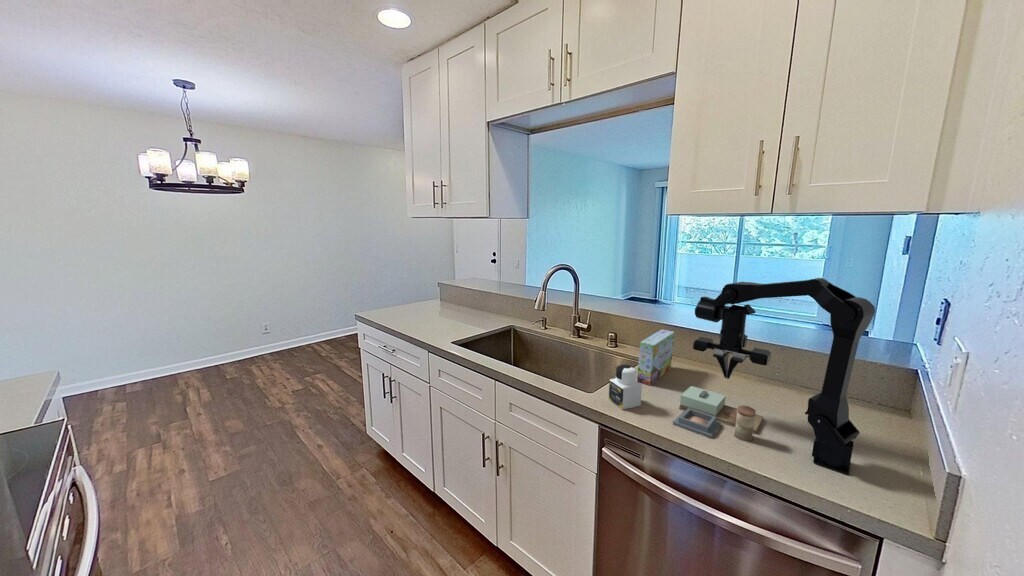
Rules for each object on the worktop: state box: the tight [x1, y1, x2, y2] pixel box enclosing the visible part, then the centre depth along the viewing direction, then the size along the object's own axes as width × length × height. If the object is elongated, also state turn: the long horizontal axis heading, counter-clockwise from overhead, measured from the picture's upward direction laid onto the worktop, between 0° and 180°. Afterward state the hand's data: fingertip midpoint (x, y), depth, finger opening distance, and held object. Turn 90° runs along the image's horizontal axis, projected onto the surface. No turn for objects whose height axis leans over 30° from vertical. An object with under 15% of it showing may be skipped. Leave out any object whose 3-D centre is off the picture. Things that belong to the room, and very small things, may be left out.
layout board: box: [679, 404, 764, 435], centre depth 112 cm, size 20×10×1 cm, turn 47°
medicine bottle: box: [608, 364, 643, 411], centre depth 118 cm, size 7×7×12 cm
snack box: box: [636, 329, 676, 386], centre depth 140 cm, size 21×6×15 cm, turn 139°
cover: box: [679, 385, 726, 416], centre depth 115 cm, size 10×9×4 cm
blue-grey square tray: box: [672, 408, 722, 439], centre depth 107 cm, size 10×9×2 cm
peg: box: [734, 405, 757, 442], centre depth 100 cm, size 4×4×8 cm
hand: (727, 378), depth 110 cm, fingers closed
